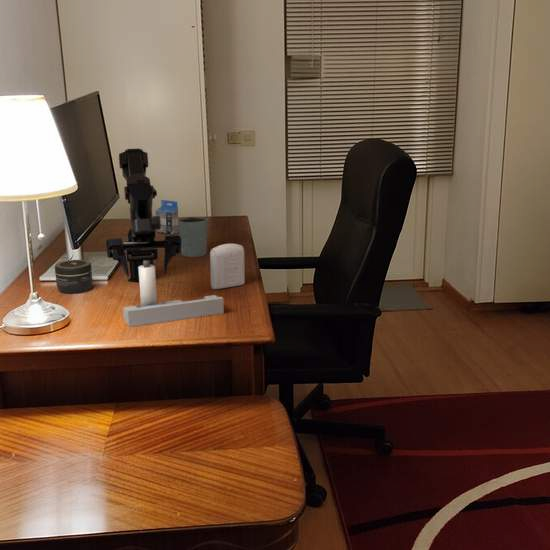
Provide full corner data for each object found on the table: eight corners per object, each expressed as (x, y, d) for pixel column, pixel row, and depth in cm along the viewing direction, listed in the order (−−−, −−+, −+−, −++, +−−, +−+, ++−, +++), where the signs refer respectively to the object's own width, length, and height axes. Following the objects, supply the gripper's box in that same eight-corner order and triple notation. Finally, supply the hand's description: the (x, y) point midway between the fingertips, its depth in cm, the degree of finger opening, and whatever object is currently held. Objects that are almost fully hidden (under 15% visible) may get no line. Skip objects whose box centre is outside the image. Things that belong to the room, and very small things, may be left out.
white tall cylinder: (140, 319, 170) (136, 263, 166) (142, 314, 174) (139, 259, 170) (156, 319, 170) (153, 262, 166) (158, 313, 174) (155, 258, 170)
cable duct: (129, 326, 165) (128, 311, 164) (123, 318, 171) (122, 303, 170) (223, 313, 174) (223, 298, 173) (215, 305, 180) (215, 291, 179)
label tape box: (155, 232, 268) (154, 200, 264) (163, 230, 271) (161, 199, 267) (172, 234, 263) (170, 203, 259) (179, 232, 266) (178, 201, 263)
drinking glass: (184, 258, 227) (182, 223, 224) (175, 252, 236) (173, 217, 233) (213, 255, 231) (211, 220, 228) (203, 249, 240) (202, 215, 237)
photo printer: (239, 281, 201) (238, 240, 198) (247, 284, 198) (246, 243, 195) (208, 287, 196) (207, 245, 193) (215, 291, 193) (214, 248, 189)
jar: (76, 282, 202) (73, 257, 199) (100, 287, 197) (98, 261, 194) (49, 291, 193) (46, 265, 191) (74, 296, 188) (72, 270, 186)
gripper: (103, 207, 170) (106, 261, 163) (179, 203, 175) (185, 256, 167) (106, 231, 180) (109, 283, 173) (177, 227, 184) (183, 278, 177)
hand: (146, 274), depth 172 cm, fingers open, 9 cm apart
